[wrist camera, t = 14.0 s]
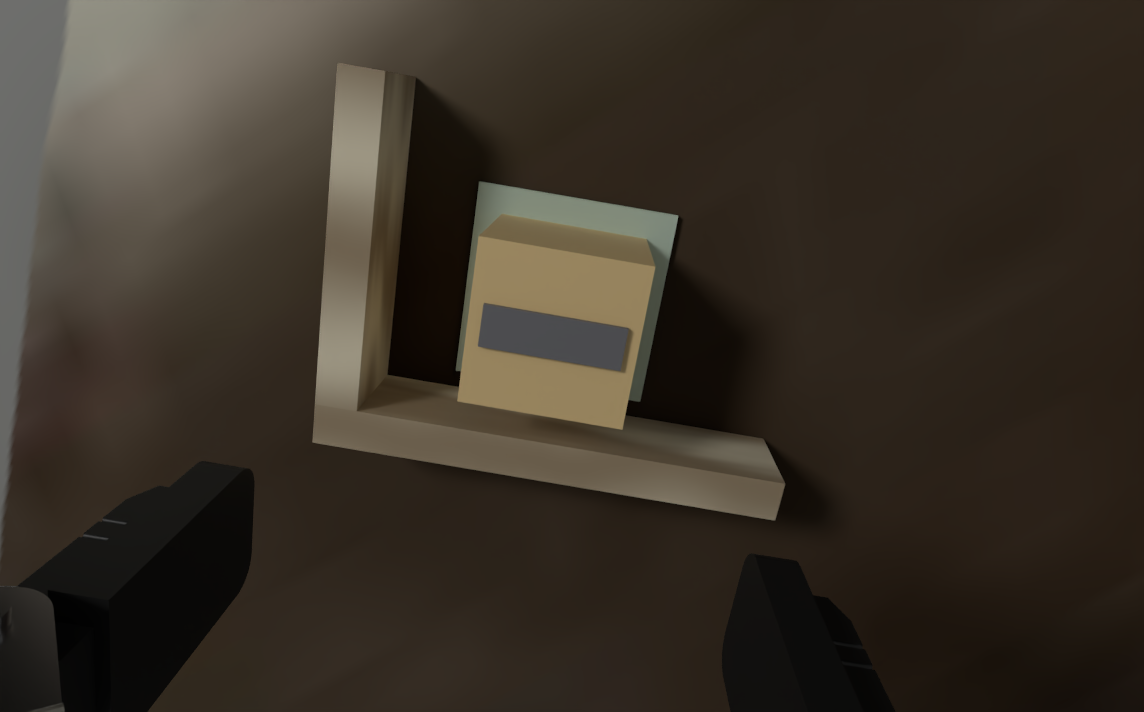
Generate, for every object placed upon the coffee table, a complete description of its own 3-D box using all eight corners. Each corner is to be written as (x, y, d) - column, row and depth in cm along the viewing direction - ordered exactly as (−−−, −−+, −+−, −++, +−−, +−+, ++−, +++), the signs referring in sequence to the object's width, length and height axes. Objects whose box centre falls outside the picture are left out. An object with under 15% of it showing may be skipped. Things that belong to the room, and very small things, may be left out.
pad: (639, 400, 31) (640, 401, 31) (456, 368, 31) (455, 370, 31) (677, 215, 29) (678, 216, 28) (480, 181, 28) (479, 181, 28)
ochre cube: (646, 238, 29) (655, 268, 23) (619, 375, 30) (622, 432, 25) (502, 213, 29) (477, 236, 23) (482, 351, 30) (456, 403, 25)
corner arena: (754, 471, 32) (775, 520, 28) (348, 402, 31) (312, 442, 28) (839, 150, 28) (876, 156, 24) (374, 70, 27) (337, 62, 24)
